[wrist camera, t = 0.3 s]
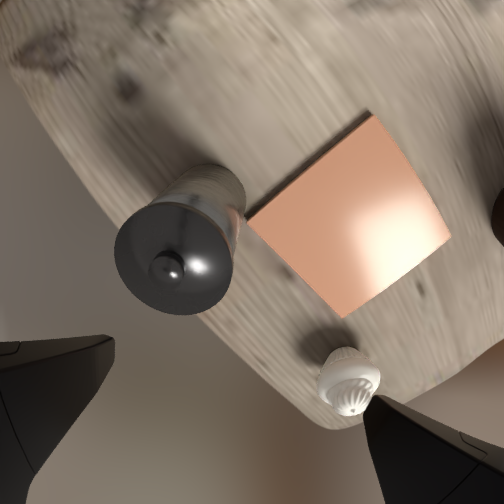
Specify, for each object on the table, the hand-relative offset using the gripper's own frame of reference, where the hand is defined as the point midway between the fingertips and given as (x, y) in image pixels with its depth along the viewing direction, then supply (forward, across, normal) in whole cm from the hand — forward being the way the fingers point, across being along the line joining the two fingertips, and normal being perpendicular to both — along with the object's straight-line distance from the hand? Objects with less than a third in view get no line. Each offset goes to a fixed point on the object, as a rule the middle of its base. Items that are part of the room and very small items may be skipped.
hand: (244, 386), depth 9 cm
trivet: (+15, +7, +4) cm, 17 cm away
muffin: (+18, +11, -9) cm, 23 cm away
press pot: (+15, -4, +4) cm, 16 cm away
